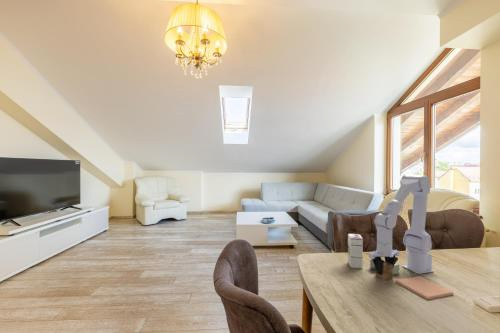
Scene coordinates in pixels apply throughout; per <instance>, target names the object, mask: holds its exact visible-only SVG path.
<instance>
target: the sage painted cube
mask: <svg viewBox="0 0 500 333" xmlns="http://www.w3.org/2000/svg"><path fill="white" fill-rule="evenodd" d="M397 274H400V264H398V263H397V262H396V263H395V265H394V267H393V275H397Z"/></svg>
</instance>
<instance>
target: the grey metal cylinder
mask: <svg viewBox="0 0 500 333" xmlns="http://www.w3.org/2000/svg"><path fill="white" fill-rule="evenodd" d="M369 269H370V270H371V271H372V272H376V268H375V265H374V263H373V261H372V259H371V258H370V260H369Z"/></svg>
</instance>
